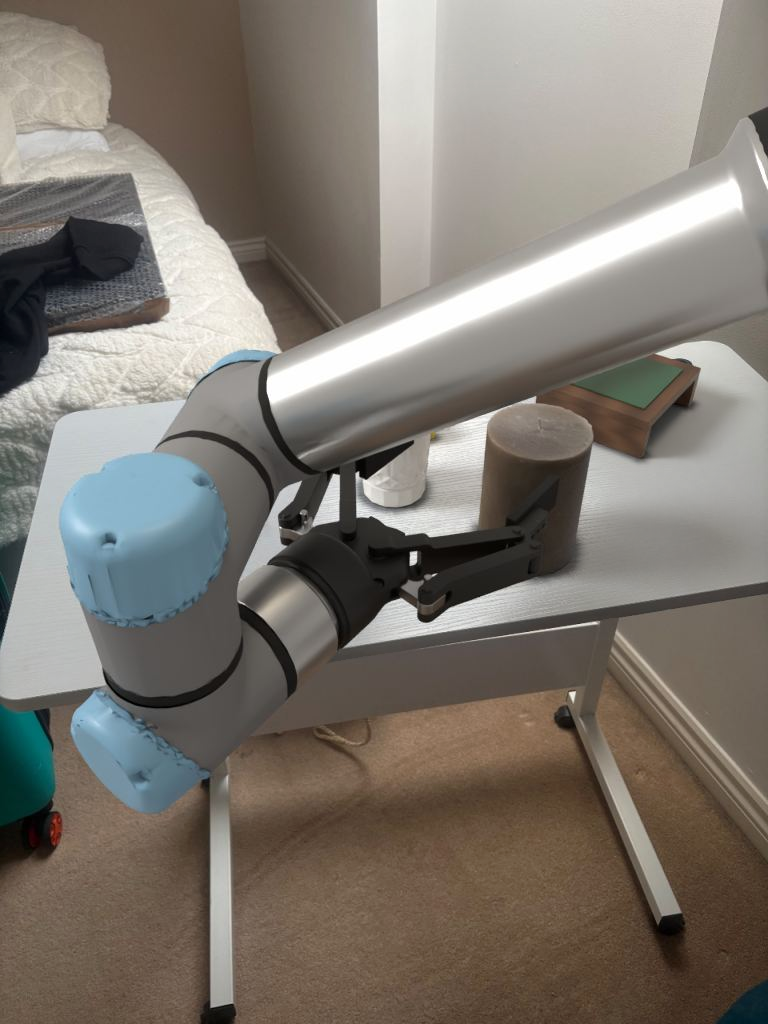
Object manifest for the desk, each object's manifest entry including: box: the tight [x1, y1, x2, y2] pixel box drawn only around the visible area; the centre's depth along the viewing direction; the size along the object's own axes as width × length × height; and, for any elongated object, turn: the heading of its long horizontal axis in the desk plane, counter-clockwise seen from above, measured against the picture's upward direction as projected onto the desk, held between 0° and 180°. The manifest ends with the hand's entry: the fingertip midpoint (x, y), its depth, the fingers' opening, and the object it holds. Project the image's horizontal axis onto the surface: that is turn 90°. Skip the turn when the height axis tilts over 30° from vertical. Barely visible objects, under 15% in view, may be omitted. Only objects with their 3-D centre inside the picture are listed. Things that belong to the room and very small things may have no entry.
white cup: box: [362, 434, 431, 508], centre depth 88 cm, size 8×8×10 cm
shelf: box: [535, 353, 702, 459], centre depth 100 cm, size 14×15×7 cm
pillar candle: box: [477, 402, 594, 576], centre depth 79 cm, size 10×10×15 cm
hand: (479, 457), depth 67 cm, fingers open, 13 cm apart
